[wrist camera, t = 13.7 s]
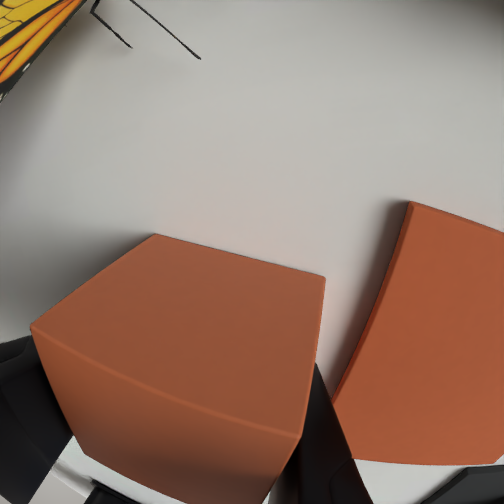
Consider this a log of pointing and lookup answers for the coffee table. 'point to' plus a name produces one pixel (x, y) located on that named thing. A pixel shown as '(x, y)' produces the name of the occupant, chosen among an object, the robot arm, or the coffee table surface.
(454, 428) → the terracotta mat
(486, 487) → the charcoal mat
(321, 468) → the robot arm
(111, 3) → the coffee table surface
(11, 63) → the butterfly
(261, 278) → the terracotta block
